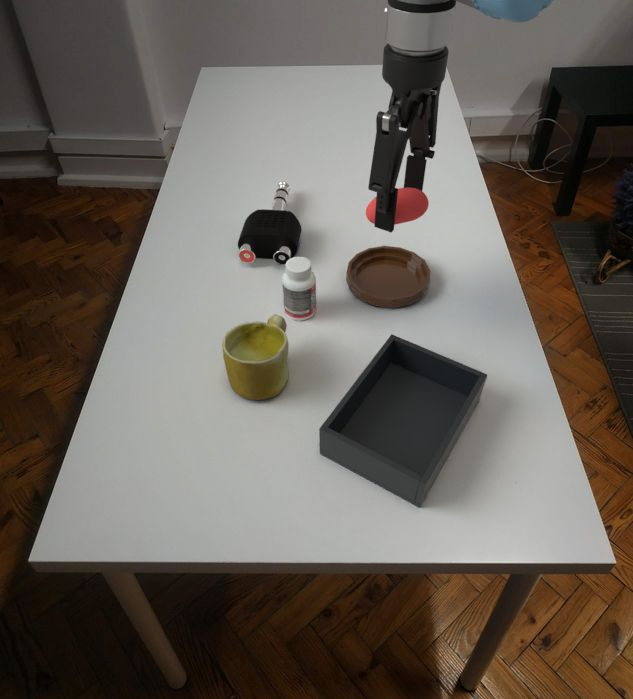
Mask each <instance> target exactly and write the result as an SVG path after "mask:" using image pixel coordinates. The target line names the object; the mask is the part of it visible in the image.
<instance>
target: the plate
mask: <svg viewBox="0 0 633 699" xmlns="http://www.w3.org/2000/svg"><path fill="white" fill-rule="evenodd" d="M345 281H346V284H347V287H348V289H349V291H350V292H351V293H352V294H353V295H354V296H355V297H356V298H358V299H359V300H360V301H361V302H365V303H367V304H370V305H372V306H373V307H381V308H389V309H391V308H399V307H405V306H406V307H407V306H410V305H411V304H413V303H415V302H418V301H419V300H421V299H423V297H424V295H425V294H426V293H427V292H428V290H429V287H430V282H431V269H430V267H429V265H428V264H427V262H426V260H425V259H424V258H423V257H421V256H420V255H418V254H417V253H416V252H415V251H411V250H408V249H405V248H403V247H400V246H390V245H380V246H374V247H369V248H367V249H364V250H362V251H360V252H357V253H356V254H355V255H354V256H353V257H352V258H351V259H350V260H349V261H348V264H347V268H346V277H345Z"/></svg>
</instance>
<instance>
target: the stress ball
mask: <svg viewBox="0 0 633 699" xmlns="http://www.w3.org/2000/svg"><path fill="white" fill-rule="evenodd" d="M397 189H398V195H397V205H396V214H395V224H394V226H395V225H400V224H404V223H409V222H412V221H415V220H417V219H419V218H421V217H422V216H424V215H425V213H427V211H428V209H429V205H430V204H429V203H430V202H429V199H428V196H427V195H426V194H425V192H424V191H423V190H422V191H420V190H419V189H416V188H410V187H408V188H404V187H400V188H397ZM376 198H377V196H375V197H374V198H373V199H371V201H370V202H369V203H368V205H367V206H366V208H365V216H366V218H367V220H368V221H369V222H370V223H371V224H373V225H375V212H376Z"/></svg>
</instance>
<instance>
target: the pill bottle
mask: <svg viewBox="0 0 633 699" xmlns="http://www.w3.org/2000/svg"><path fill="white" fill-rule="evenodd" d="M284 266H285V271H284V272H283V274H282V277H281V285H282V288H281V289H282V299H283V311H284V314H285V315H286V316H287V318H289V319H291V320H294V321H298V322H299V321H306V320H309V319H311V318H312V317H313V316H314V315H315V314H316V311H317V278H316V275H315V273H314V271H312V263H311V261H310V259H308V258H307V257H305V256H294V257H293V258H291V259H289V260H288V261H287V262H286V265H284Z"/></svg>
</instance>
